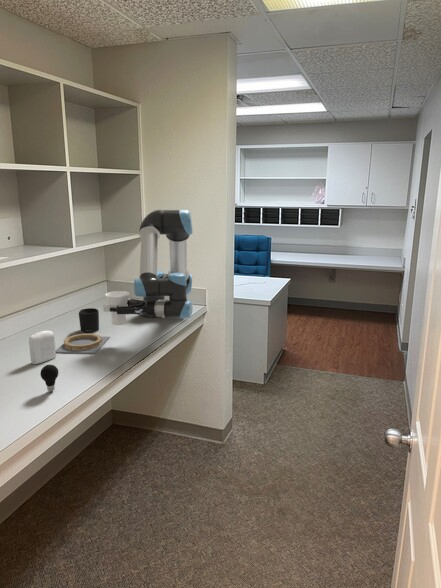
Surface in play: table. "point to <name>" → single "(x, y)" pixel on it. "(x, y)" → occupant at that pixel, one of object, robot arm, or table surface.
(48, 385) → the light bulb
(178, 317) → the robot arm
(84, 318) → the pen holder
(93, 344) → the collar ring
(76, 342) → the collar mat
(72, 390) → the table surface
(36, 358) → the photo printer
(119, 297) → the cup
